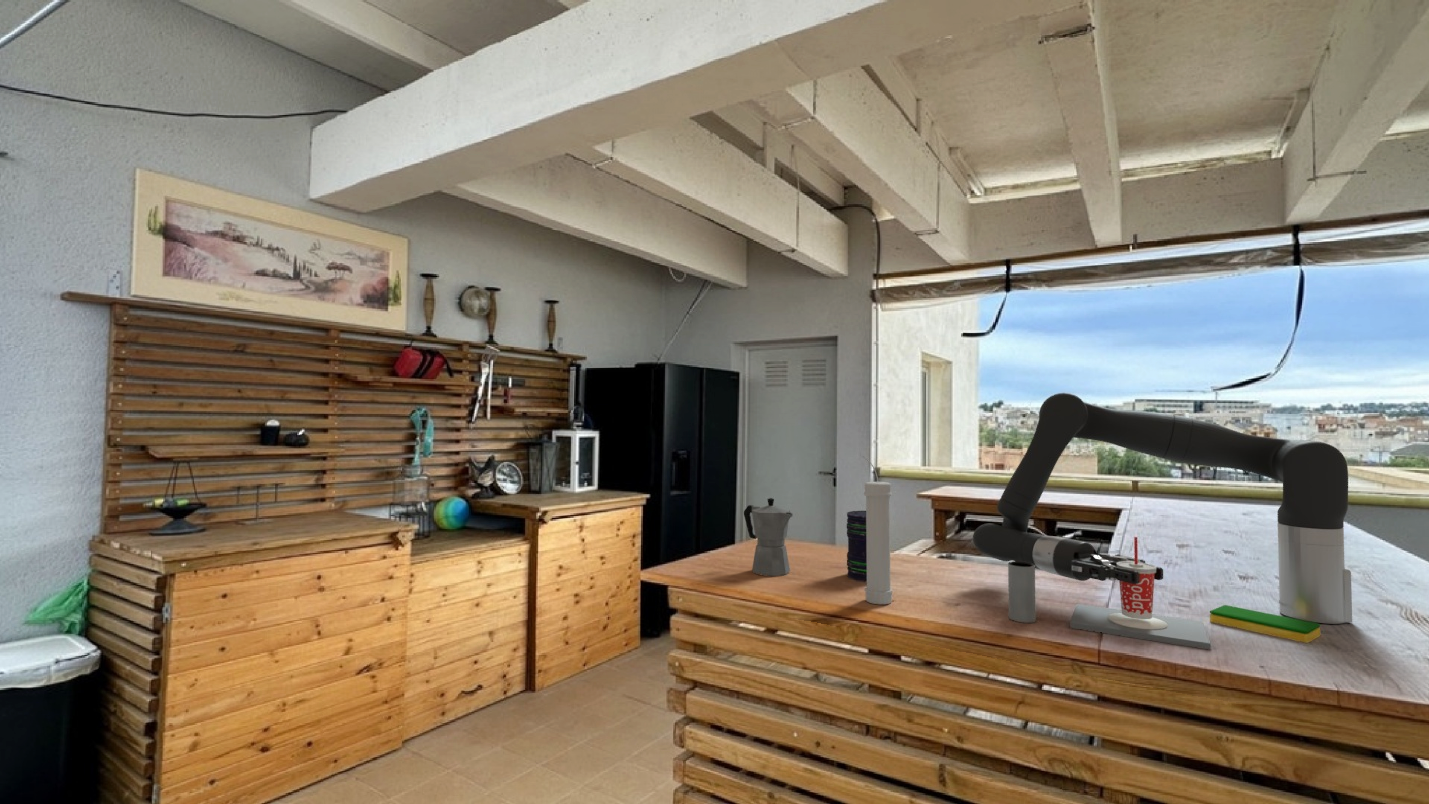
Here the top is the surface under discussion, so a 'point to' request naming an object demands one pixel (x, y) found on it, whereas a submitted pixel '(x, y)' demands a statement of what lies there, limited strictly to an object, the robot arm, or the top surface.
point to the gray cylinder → (1021, 591)
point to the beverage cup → (1138, 589)
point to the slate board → (1141, 626)
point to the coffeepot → (769, 538)
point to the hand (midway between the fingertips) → (1149, 576)
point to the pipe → (878, 541)
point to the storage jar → (857, 546)
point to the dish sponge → (1266, 623)
